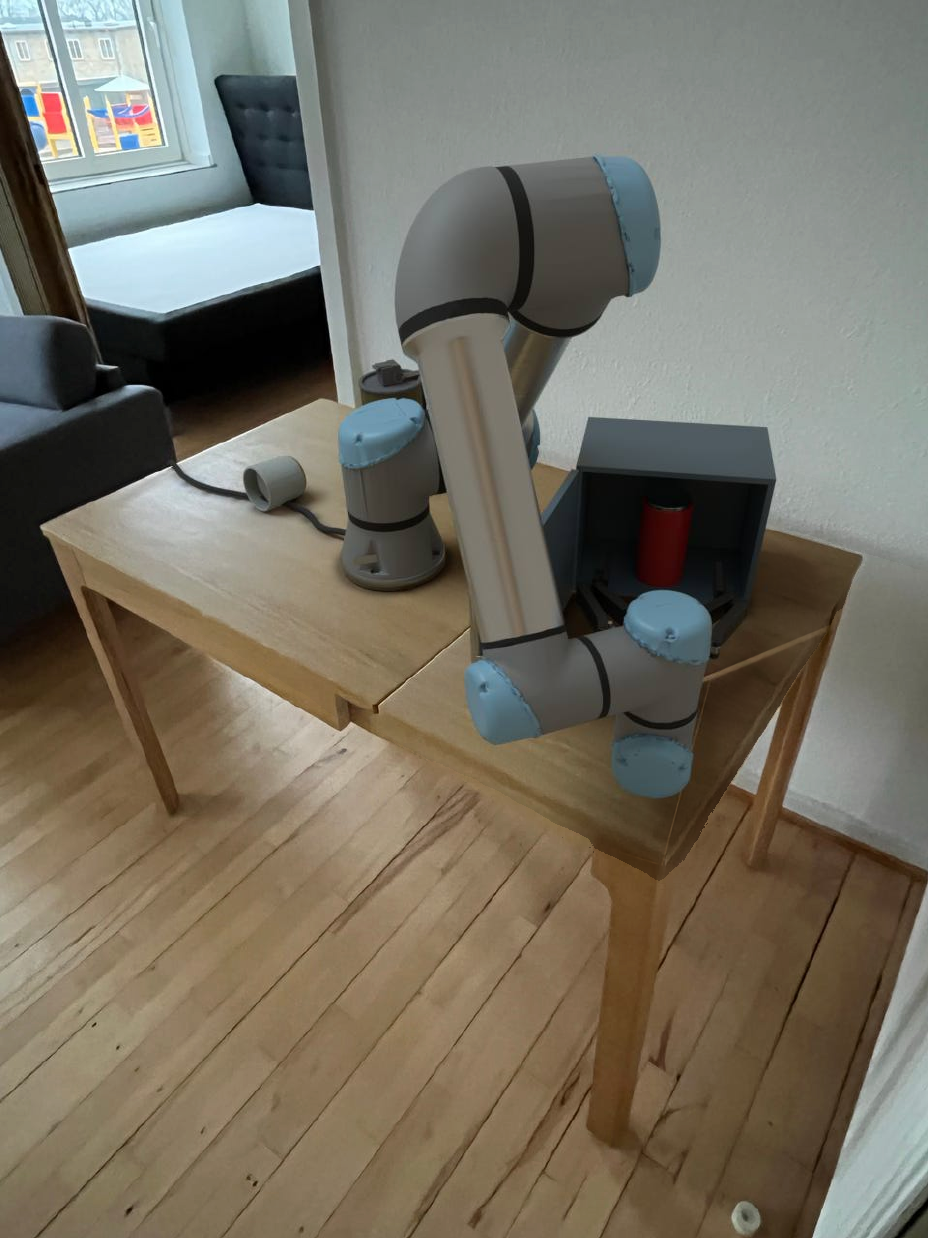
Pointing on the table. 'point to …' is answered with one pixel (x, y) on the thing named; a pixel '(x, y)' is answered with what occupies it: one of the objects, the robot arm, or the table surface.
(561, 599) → the fridge door
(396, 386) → the canister
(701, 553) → the fridge
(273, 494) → the ceramic mug
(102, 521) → the table surface
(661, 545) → the can
